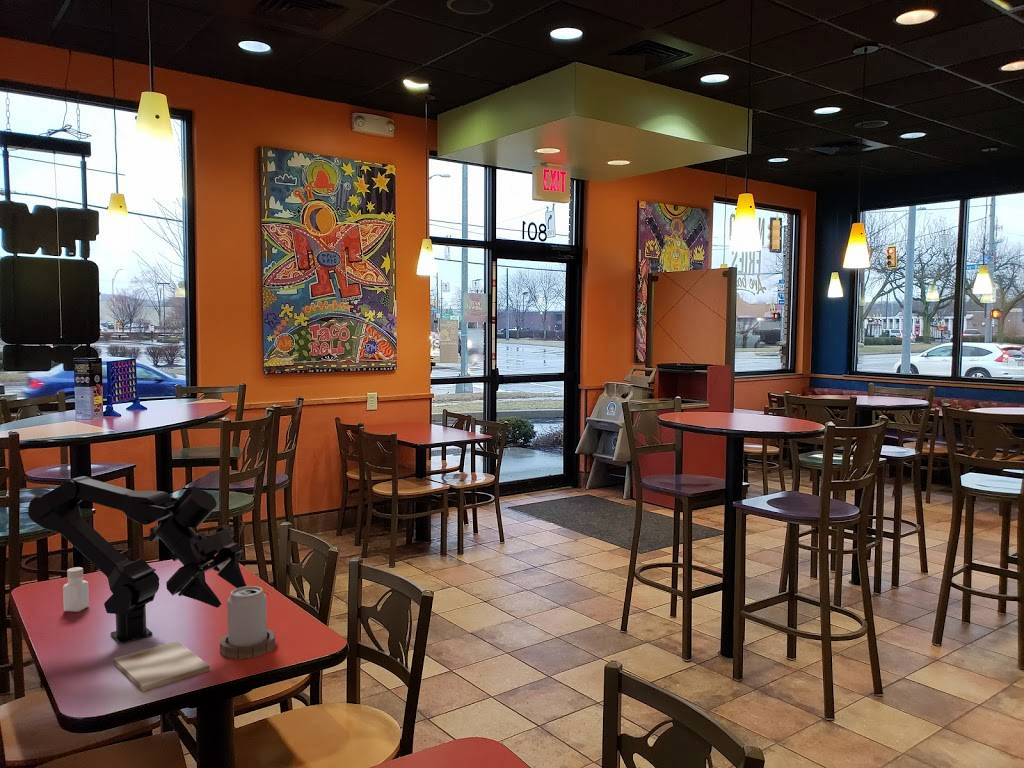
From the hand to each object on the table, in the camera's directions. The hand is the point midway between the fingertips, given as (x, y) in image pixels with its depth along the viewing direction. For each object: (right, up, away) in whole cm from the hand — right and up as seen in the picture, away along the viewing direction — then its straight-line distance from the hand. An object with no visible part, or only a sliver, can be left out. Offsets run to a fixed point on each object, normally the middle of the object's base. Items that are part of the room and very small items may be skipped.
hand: (233, 598), depth 153 cm
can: (+3, -10, 0) cm, 11 cm away
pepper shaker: (-44, -9, +21) cm, 50 cm away
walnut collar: (+3, -10, 0) cm, 11 cm away
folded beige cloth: (-10, -11, -9) cm, 17 cm away
